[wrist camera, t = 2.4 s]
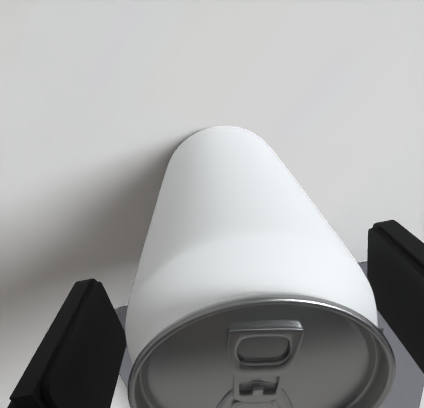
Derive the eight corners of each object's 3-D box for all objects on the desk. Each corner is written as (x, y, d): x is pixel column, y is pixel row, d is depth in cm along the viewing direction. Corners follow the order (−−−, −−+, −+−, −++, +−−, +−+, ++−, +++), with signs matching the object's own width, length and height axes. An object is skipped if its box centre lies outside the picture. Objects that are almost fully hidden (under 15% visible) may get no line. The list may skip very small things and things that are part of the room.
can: (168, 228, 18) (125, 475, 8) (162, 122, 15) (75, 281, 5) (272, 228, 18) (371, 466, 8) (285, 123, 16) (474, 276, 5)
